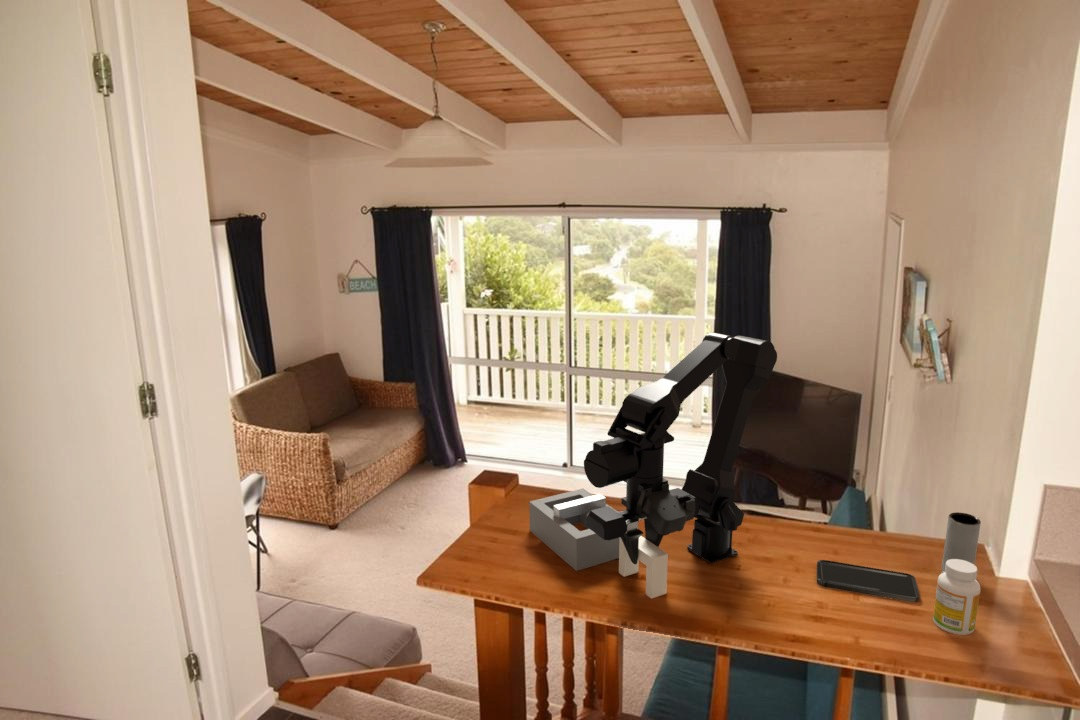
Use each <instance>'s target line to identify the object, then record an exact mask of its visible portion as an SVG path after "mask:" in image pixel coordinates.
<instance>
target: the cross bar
mask: <svg viewBox="0 0 1080 720" xmlns="http://www.w3.org/2000/svg"><path fill="white" fill-rule="evenodd" d="M606 504H607V498H606V497H605V496H604V495H602V494H601V493H598V494H595V495H594V496H590V497H586V498H582V499H578V500H574V501H570V502H566V503H562V504H558V505H554V516H555V517H556V518H557V519H558V520H561V519H565V518H569V517H573V516H577V515H580V514H584V513H588V512H590V511H591V510H595V509H599V508H602V507H606Z"/></svg>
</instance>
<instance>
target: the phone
mask: <svg viewBox="0 0 1080 720" xmlns="http://www.w3.org/2000/svg"><path fill="white" fill-rule="evenodd" d="M816 583H817V585H818V586H821V587H823V588H828V589H834V590H840V591H846V592H852V593H856V594H857V593H858V594H864V595H868V596H873V597H878V598H879V597H880V598H884V597H886V598H885V599H890V598H892V599H891V600H896V599H898V600H897V601H901V600H902V601H901V602H907V601H908V603H913V602H915V603H918V602H919V601H920V596H921V595H920V591H919V588H918V584H917V579H916V577H915V576H914V575H913V574H910V573H907V572H906V573H905V572H900V571H894V570H888V569H881V568H875V567H870V566H863V565H858V564H853V563H852V564H851V563H846V562H839V561H832V560H828V559H827V560H826V559H818V560H817V562H816Z"/></svg>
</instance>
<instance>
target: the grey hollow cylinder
mask: <svg viewBox="0 0 1080 720" xmlns="http://www.w3.org/2000/svg"><path fill="white" fill-rule="evenodd" d="M981 522H982V521H981V520H980V519H979V518H978V517H977V516H974V515H973V514H971V513H965V512H950V513H949V515H948V517H947V526H946V533H945V538H944V539H945V540H944V548H943V555H942V562H941V571H942V572H941V574H942V573H944V572H945V564H946V561H947V560H950V559H960V560H964V561H967V562H970V563H972V564H974V565H975V563H976V559H977V558H976V557H977V550H978V544H979V542H978V541H979V538H980V529H981ZM975 566H976V565H975Z"/></svg>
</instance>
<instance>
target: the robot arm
mask: <svg viewBox="0 0 1080 720" xmlns="http://www.w3.org/2000/svg"><path fill="white" fill-rule="evenodd" d="M777 361H778V352H777V351H776V348H775V345H774V344H773V343H772V342H771V341H770V340H763V339H760V338H754V337H749V336H744V335H736V336H732V335H729V334H722V333H720V332H719V333H718V332H711V333H707V334H706V335H704V337H703V339H702V341H701V342H700V344H698V345H697V346H696V347H695V348H694V349H693V350H692V351H690V352H689V353H688V354H687V355H686V356H685V357H684V358H682V359H681V360H680V362H678V363H677V364H676V365H674V367H672V368H671V369H670V370H669V371H668V372H667V373H666V374H665V375H664V376H663V377H661V378H660V379H658V380H656V381H654V382H650V383H647V384H643V385H642V386H640V387H638V388H637V389H635V390H634V391H633V390H632V392H630V393H629V394H627V396H626V397H625V398H624V399H623V401H622V405H621V407H620V409H619V410H618V412H617V414H616V416H615V418H614V420H613V422H612V424H611V425H610V428H609V429H608V431H607V436H608V437H610V439H607V440H598V441H595V442H593V444H592V450H590V451H589V452H587V453H586V456H585V459H584V460H583V470H584V473H585V476H586V478H587V479H588V481H589V483H590V484H591V485H592V486H594V487H596V488H597V489H601V488H604V487H608V486H612V485H615V484H617V483H621V482H624V483H626V487H625V488H626V494H625V495H626V496H624V497H621V501H620V503H621V505H622V506H624V507H625V510H621V511H618V512H616V511H617V510H616V509H615V510H616V511H615V510H613V509H614V508H613V507H612V508H613V509H612V508H610V507H611V506H610V505H609V506H610V507H609V506H606V507H602V508H599V509H595V510H591V511H590V512H589V513H588V514H587V517H586V527H588V528H589V529H590V530H592V531H593V532H594V533H596V534H597V535H598V536H600V537H601V538H602V539H604V540H612V539H616V538H619V537H621V539H622V541H623V544H624V546H625V548H626V551H627V553H628V555H629V557H630V560H631V562H632V563H633V564H637V561H638V547H639V537H640V536H643V534H644V535H645V537H644V538H645V539H647V540H648V541H650V542H651V543H653V544H654V545H656V546H657V547H659V548H660V545H661V542H662V539H663V537H664V536H668V535H670V534H671V533H676V532H682V531H683V530H684V528H685V525H686V523H687V522H688V521H691V520H694V522H693V523H694V524H693V525H694V526H693V529H692V535H691V536H692V539H691V543H690V544H688V545H686V546H687V547H686V548H687V550H689V551H691V552H693V554H695V555H697V556H698V557H700V558H702V559H703V560H704V561H706V562H708V563H709V564H714V563H717V562H720V561H724V560H726V559H729V558H731V557H736V556H738V554H739V552H738V551H739V550H736V549H734V548H733V547H732V546H733V531H737V530H738V527H740V526H742V524H743V520H744V517H745V513H744V512H743V511H742V510H741V508H740V507H738V505H737V504H735V502H734V501H735V495H736V491H737V489H736V486H735V485H736V484H735V481H734V477H733V473H732V471H733V467H734V464H735V460H736V458H737V454H738V450H739V448H740V444H741V441H742V437H743V433H744V431H745V427H746V425H747V421H748V416H749V414H750V411H751V407H752V404H753V400H754V397H755V394H756V392H757V391H758V390H759V389H760V388H761V387H762V386H763V385H764V384H766V382H768V380H769V379H770V377H771V374H772V372H773V370H774V369H775V366H776V364H777V363H776V362H777ZM721 367H722V368H721ZM719 368H721V369H722V371H723V374H724V375H723V377H724V378H725V382H726V385H725V388H724V390H723V395H722V398H721V401H720V404H719V408H718V411H717V414H716V419H715V422H714V425H713V429H712V432H711V435H710V438H709V441H708V445H707V448H706V452H705V455H704V459H703V461H702V463H701V464H700V465H699V466H697V467H696V468H695V469H688V471H687V472H686V475H685V479H684V480H685V481H684V485H683V486H682V488H680V487H675V488H673V489H670V484H669V480H668V479H666V478H664V463H665V461H664V459H665V458H664V456H665V455H664V454H665V453H664V452H665V444H667V443H672V442H674V441H675V437H674V436H673V435H672V434H671V433H669V432H668V430H669V428H670V427H671V426H672V425H673V423H674V422H675V421H676V419H678V417H679V415H680V411H681V405H682V404H683V403H684V401H685V400H686V399H687V398H688V397H690V395H691V394H693V392H695V391H696V390H697V389H698V388H699V387H700V386H701V385H702V384H703V383H704V382H705V381H707V380H708V378H709V377H711V376H712V375H713V374H714V373H715V372H716V371H717V370H718V369H719ZM627 427H630V428H632V429H635V430H638V431H639V432H641V433H638V432H636V431H633V430H631V429H628V428H627ZM642 432H643V433H642ZM641 520H643V523H644V532H643V531H642V530H641V529H639V521H641ZM586 527H585V528H586Z"/></svg>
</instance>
